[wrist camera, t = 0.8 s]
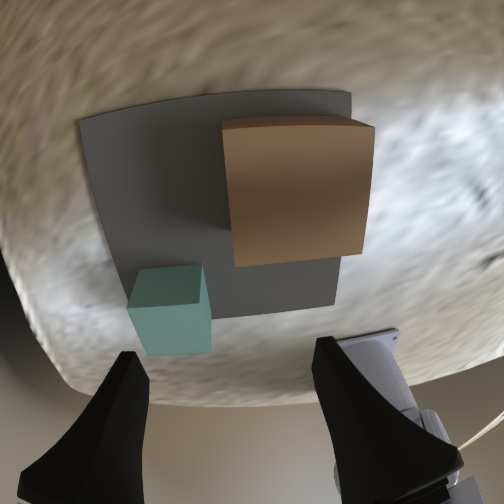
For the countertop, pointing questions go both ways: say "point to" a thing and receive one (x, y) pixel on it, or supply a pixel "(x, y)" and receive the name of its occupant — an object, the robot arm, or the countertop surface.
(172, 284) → the teal block
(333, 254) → the walnut block
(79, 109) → the countertop surface
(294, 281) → the mat
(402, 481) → the robot arm
